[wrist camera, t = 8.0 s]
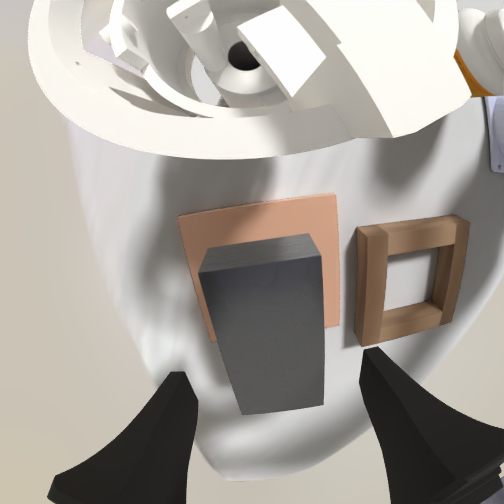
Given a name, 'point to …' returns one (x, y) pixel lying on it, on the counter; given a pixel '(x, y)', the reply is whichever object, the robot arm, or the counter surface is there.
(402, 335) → the walnut holder
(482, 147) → the counter surface
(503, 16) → the supplement bottle
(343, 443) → the counter surface
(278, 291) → the dark grey block
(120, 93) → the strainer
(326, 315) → the terracotta coaster
